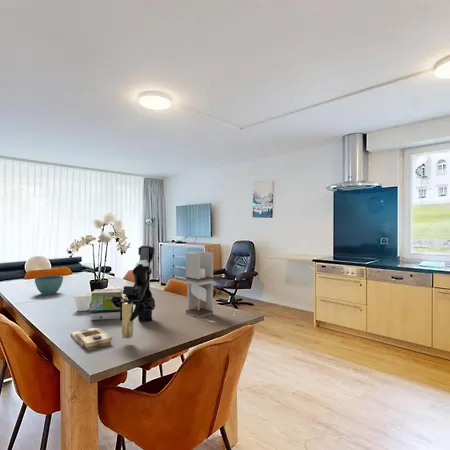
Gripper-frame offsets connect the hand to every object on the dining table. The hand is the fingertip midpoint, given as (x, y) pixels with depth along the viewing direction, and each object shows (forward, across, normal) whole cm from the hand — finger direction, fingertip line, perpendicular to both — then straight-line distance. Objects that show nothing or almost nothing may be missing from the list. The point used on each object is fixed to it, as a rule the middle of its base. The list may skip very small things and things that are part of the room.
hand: (125, 320), depth 125 cm
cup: (-22, -54, +38) cm, 69 cm away
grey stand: (-28, +16, +44) cm, 54 cm away
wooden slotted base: (+6, -18, +8) cm, 21 cm away
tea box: (-16, -32, +31) cm, 47 cm away
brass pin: (+4, 0, +6) cm, 7 cm away
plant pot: (-45, -108, +61) cm, 132 cm away
